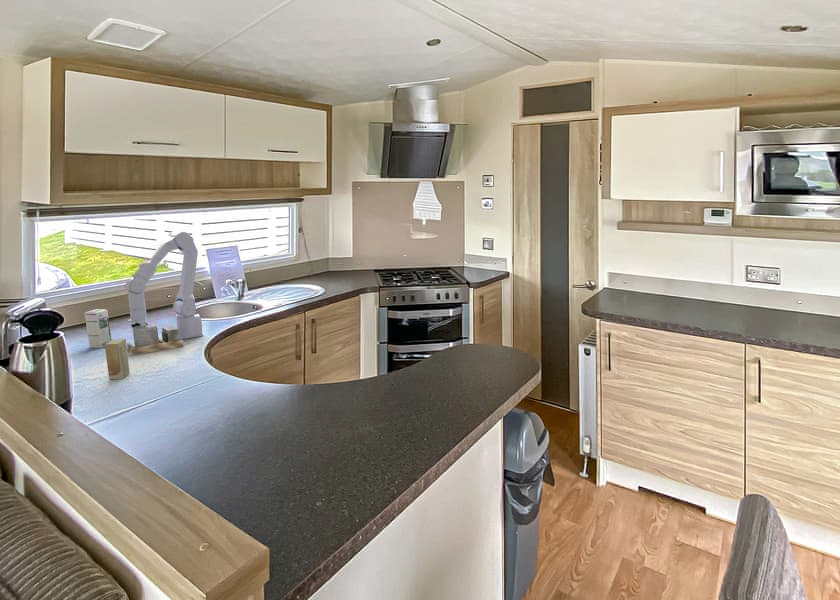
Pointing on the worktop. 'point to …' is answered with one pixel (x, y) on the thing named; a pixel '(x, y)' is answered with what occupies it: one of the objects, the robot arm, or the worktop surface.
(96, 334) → the syrup box
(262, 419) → the worktop surface
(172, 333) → the wooden rack
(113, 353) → the skincare box
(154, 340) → the medicine box
